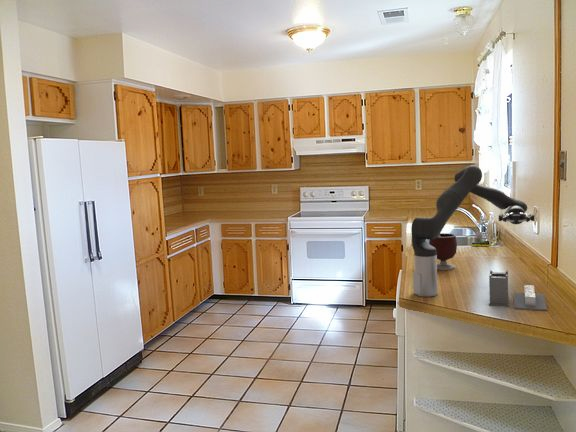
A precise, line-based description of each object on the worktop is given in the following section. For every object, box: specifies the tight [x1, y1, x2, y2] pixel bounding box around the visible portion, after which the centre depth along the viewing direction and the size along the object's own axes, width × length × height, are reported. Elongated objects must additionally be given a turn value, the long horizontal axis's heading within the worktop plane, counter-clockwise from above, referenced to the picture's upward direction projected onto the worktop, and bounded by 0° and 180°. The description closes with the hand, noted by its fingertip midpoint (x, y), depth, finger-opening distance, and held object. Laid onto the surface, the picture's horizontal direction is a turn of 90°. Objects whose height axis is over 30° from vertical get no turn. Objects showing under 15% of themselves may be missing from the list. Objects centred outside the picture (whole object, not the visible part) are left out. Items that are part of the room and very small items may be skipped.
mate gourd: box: [428, 232, 458, 271], centre depth 260 cm, size 16×14×20 cm
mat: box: [513, 292, 548, 311], centre depth 195 cm, size 21×11×1 cm, turn 156°
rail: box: [523, 284, 536, 306], centre depth 196 cm, size 18×4×4 cm, turn 156°
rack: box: [488, 269, 510, 308], centre depth 196 cm, size 11×7×12 cm, turn 156°
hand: (516, 219), depth 212 cm, fingers open, 8 cm apart
